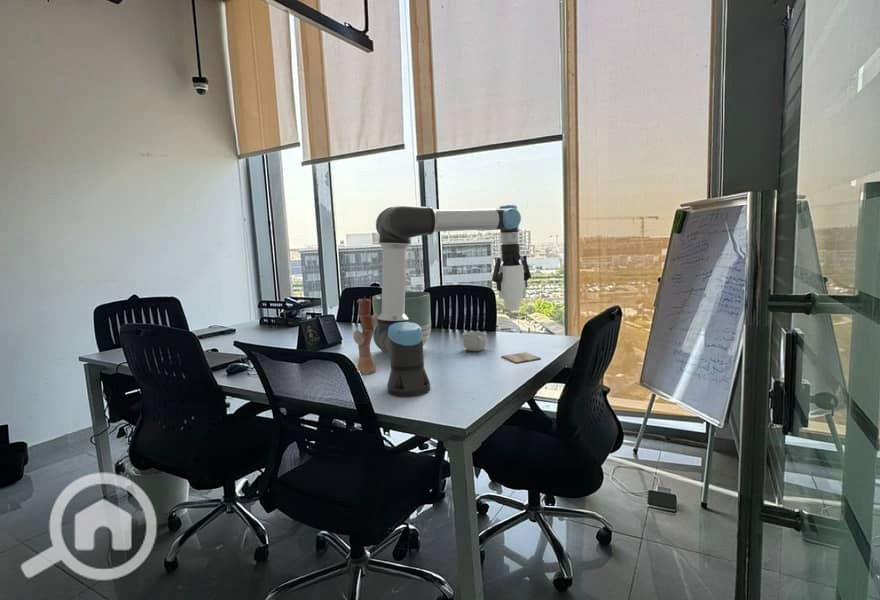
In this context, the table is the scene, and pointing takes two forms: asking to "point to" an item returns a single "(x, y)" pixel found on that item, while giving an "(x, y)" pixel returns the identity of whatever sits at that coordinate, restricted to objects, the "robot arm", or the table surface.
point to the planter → (412, 310)
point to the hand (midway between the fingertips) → (512, 297)
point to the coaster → (520, 357)
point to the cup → (512, 285)
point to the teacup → (474, 341)
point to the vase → (365, 337)
